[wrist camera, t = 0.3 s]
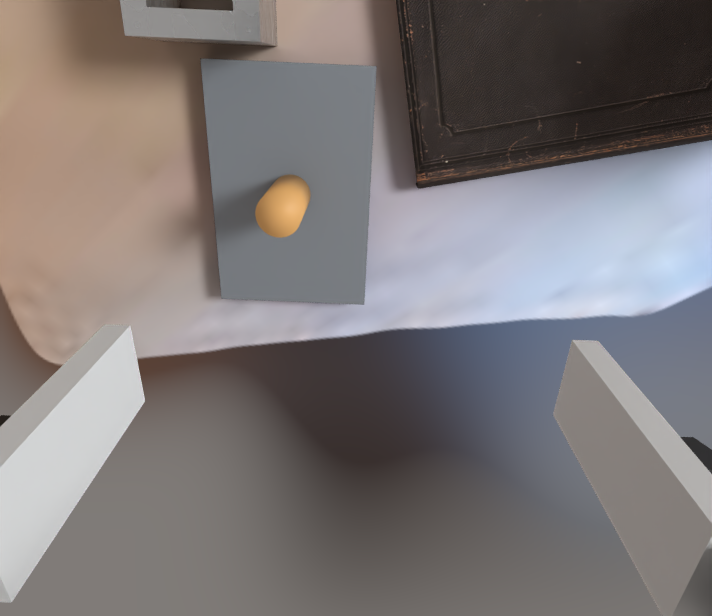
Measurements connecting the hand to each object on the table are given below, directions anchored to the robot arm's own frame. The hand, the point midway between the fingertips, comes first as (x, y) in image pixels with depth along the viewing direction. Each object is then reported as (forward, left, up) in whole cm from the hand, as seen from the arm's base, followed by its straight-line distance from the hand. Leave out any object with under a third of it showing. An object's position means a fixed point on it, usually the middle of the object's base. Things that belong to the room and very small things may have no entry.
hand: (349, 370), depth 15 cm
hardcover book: (-10, +14, -27) cm, 32 cm away
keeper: (+1, -5, -26) cm, 27 cm away
